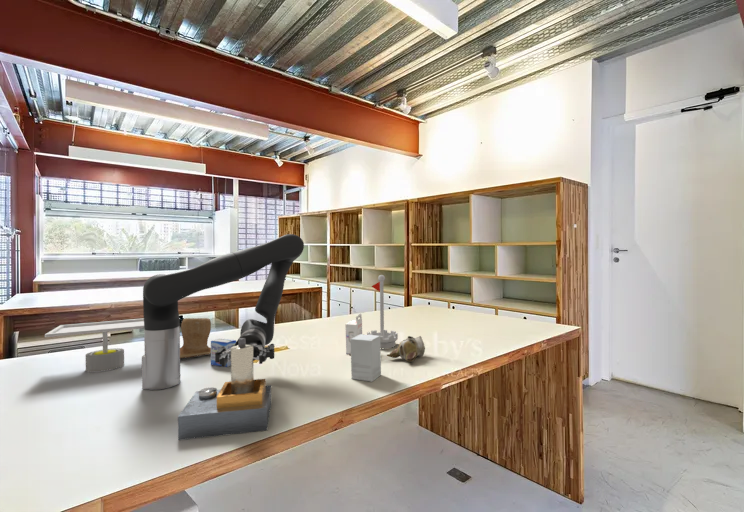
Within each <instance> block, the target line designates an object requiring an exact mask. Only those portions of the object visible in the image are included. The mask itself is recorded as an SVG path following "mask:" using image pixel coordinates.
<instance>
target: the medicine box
mask: <svg viewBox="0 0 744 512" xmlns="http://www.w3.org/2000/svg"><path fill="white" fill-rule="evenodd" d="M236 342H237V340H236V339H235V340H234V339H229V338H227V339H226V338H215V339H211V341H210V348H211V354H210V366H216V367H217V366H218V367H223V368H224V367H225V368H229V367H231V361H229V362H228V363H227V364H226V366H222V365H220V362H218V363H217V362H215V352H216V351H217V350H218V349H219V348H220V347H222V346H224V347H225V348H226V349H229V348H231V347H234V346H235V344H236ZM228 358H229V354H228Z"/></svg>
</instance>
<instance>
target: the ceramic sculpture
mask: <svg viewBox="0 0 744 512" xmlns="http://www.w3.org/2000/svg"><path fill="white" fill-rule="evenodd" d="M425 351H426V345H425V342H424V341H423V337H422V336H421V335H419V336H417V337H414V336H410V335H408V336H407V337H406V339H404V340H402V341H400V342H399V344H398V347H397V348H394V349H393V350H391V352H390V353H389V354H386V356H387V357H389V358H391V359H397V358H399V357H400V358H401V359H403V360H405V361H406V362H409V363H411V362H414V361H415V360H416V358H417V357H423V355H424V354H425Z"/></svg>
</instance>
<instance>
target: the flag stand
mask: <svg viewBox="0 0 744 512" xmlns="http://www.w3.org/2000/svg"><path fill="white" fill-rule="evenodd" d="M377 279H378V282H376V283H375V284H373V285H371V287H372V288H373V289H375V290H376V291H378V292H379V305H380V306H379V320H380V321H379V323H380V324H379V325H380V326H379V327H380V328H379V331H380V332H378V330H376V329H375V330H371V331H368V332H366V335H376V336H380V348H390V349H392V348H391V347H393V348H395V347H396V342H397V341H398V336H399V335H398V332H397V331H395V330H390V332H388V329H385V326H384V325H385V320H384V319H385V317H384V316H385V312H384V311H385V306H384V305H385V304H384V291H385V290H384V281H385V280H386V277H385V275H383V274H380V275H378V277H377ZM394 346H395V347H394Z"/></svg>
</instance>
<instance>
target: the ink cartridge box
mask: <svg viewBox="0 0 744 512" xmlns="http://www.w3.org/2000/svg"><path fill="white" fill-rule="evenodd" d="M355 318H356V319H353V320H349V321H348V322H347V323H345V354H346V355H351V339H352V338H354V337H356V336H358V335H360V334H363V317H362V313H359V314H358V315H356V317H355Z"/></svg>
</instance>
